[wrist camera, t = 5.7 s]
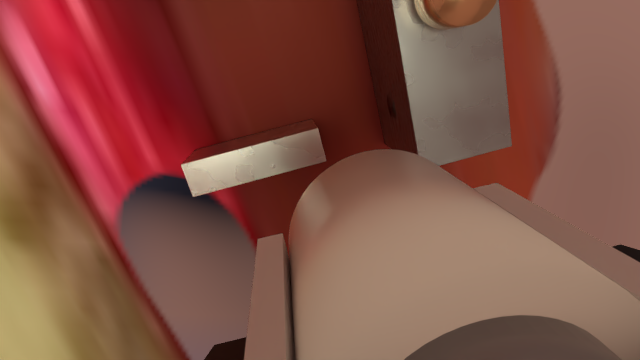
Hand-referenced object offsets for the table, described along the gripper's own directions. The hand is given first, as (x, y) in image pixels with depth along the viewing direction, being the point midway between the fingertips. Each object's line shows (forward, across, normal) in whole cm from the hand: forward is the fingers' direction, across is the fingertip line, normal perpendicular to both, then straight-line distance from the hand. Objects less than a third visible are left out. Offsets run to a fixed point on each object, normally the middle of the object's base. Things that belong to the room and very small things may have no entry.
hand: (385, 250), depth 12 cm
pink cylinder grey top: (+1, 0, 0) cm, 1 cm away
